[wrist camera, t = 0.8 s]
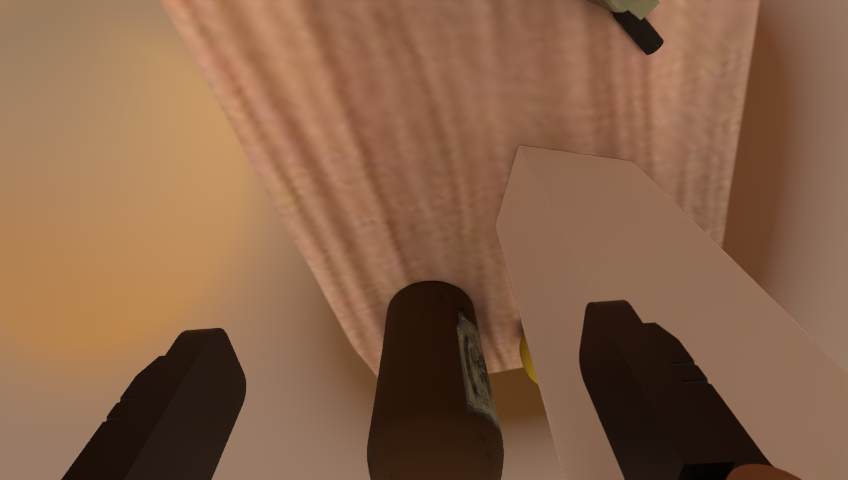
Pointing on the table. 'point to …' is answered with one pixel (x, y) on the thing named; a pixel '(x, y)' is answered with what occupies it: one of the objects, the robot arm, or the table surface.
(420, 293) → the olive oil
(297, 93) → the table surface
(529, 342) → the stand
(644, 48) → the handheld radio
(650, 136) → the table surface
